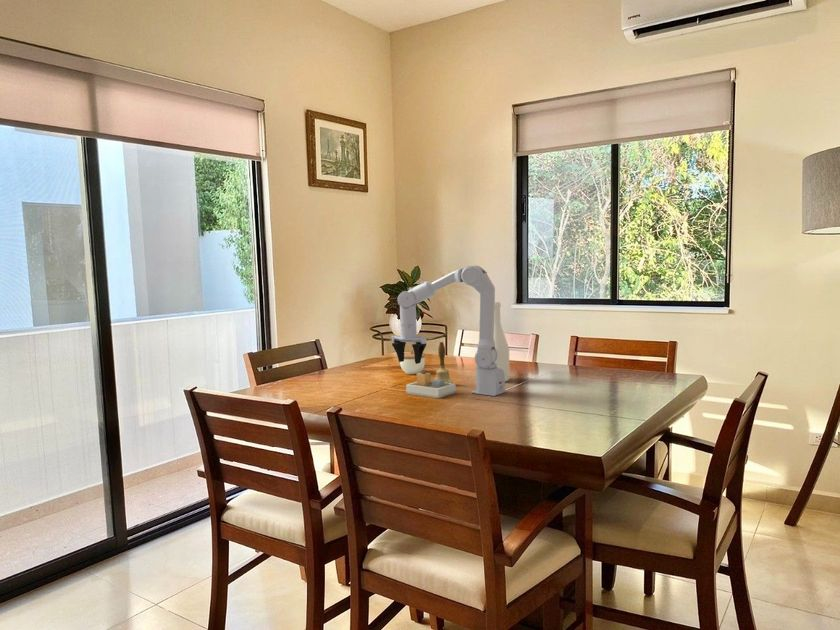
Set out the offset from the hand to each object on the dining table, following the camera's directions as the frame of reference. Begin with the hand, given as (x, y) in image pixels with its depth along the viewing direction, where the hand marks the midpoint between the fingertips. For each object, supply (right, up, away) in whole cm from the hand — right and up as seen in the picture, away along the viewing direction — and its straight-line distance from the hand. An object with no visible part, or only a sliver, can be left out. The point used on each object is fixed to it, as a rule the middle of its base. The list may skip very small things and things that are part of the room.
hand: (409, 362), depth 219 cm
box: (+8, -10, -6) cm, 14 cm away
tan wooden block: (+5, -9, -5) cm, 12 cm away
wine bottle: (+33, -8, +13) cm, 36 cm away
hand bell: (+12, -9, +8) cm, 17 cm away
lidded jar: (+1, -7, +34) cm, 34 cm away
